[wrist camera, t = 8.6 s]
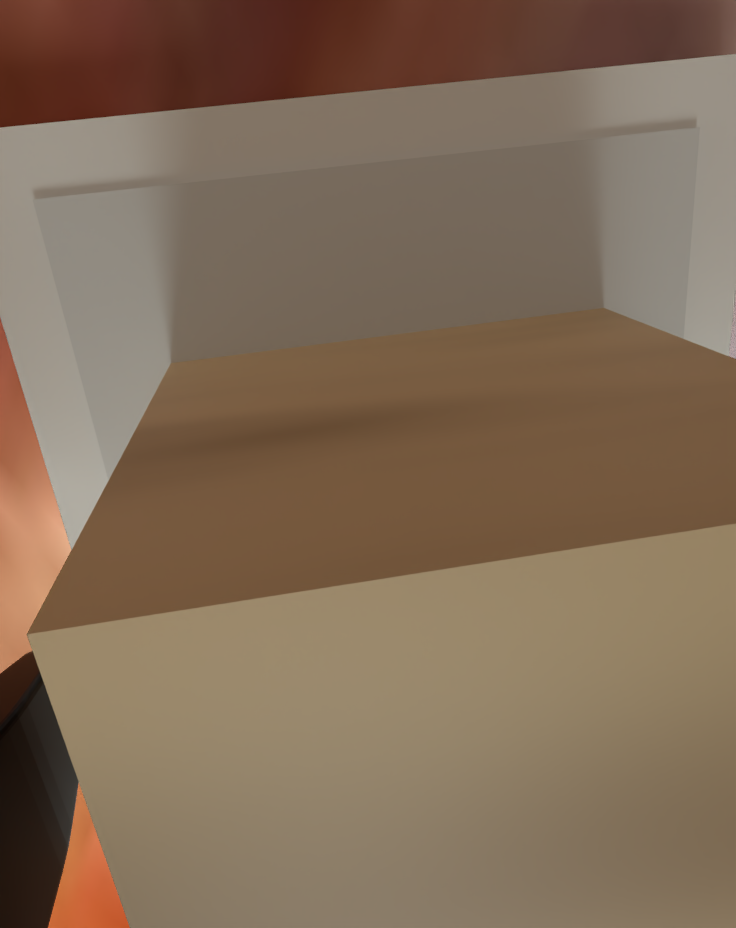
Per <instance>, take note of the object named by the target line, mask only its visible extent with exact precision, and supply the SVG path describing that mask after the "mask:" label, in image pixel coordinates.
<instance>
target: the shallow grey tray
mask: <svg viewBox="0 0 736 928" xmlns="http://www.w3.org/2000/svg"><path fill="white" fill-rule="evenodd" d="M735 293H736V54H730V55H720V56H710V57H700V58H690V59H680V60H670V61H660V62H650V63H640V64H630V65H620V66H610V67H600V68H590V69H580V70H570V71H560V72H551V73H541V74H531V75H521V76H511V77H501V78H491V79H481V80H471V81H461V82H451V83H441V84H431V85H421V86H411V87H401V88H391V89H381V90H371V91H361V92H351V93H341V94H331V95H321V96H311V97H301V98H291V99H281V100H271V101H261V102H251V103H241V104H231V105H221V106H211V107H201V108H191V109H181V110H171V111H161V112H151V113H141V114H131V115H121V116H111V117H101V118H91V119H81V120H71V121H61V122H51V123H41V124H31V125H21V126H11V127H1V128H0V318H1V321H2V324H3V327H4V331H5V334H6V337H7V340H8V344H9V347H10V350H11V354H12V357H13V360H14V363H15V367H16V370H17V373H18V376H19V380H20V383H21V386H22V389H23V393H24V396H25V399H26V403H27V406H28V409H29V412H30V416H31V419H32V422H33V425H34V429H35V432H36V435H37V439H38V442H39V445H40V448H41V452H42V455H43V458H44V461H45V465H46V468H47V471H48V474H49V478H50V481H51V484H52V488H53V491H54V494H55V497H56V501H57V504H58V507H59V510H60V514H61V517H62V520H63V524H64V527H65V530H66V533H67V537H68V540H69V543H70V546H71V550H72V548H73V547H74V545H75V543H76V541H77V539H78V537H79V535H80V533H81V531H82V530H83V528H84V526H85V524H86V522H87V520H88V518H89V516H90V515H91V513H92V511H93V509H94V507H95V505H96V503H97V501H98V499H99V498H100V496H101V494H102V492H103V490H104V488H105V486H106V484H107V482H108V481H109V479H110V477H111V475H112V473H113V471H114V469H115V467H116V466H117V464H118V462H119V460H120V458H121V456H122V454H123V452H124V450H125V449H126V447H127V445H128V443H129V441H130V439H131V437H132V435H133V433H134V432H135V430H136V428H137V426H138V424H139V422H140V420H141V418H142V417H143V415H144V413H145V411H146V409H147V407H148V405H149V403H150V401H151V400H152V398H153V396H154V394H155V392H156V390H157V388H158V386H159V384H160V383H161V381H162V379H163V377H164V375H165V373H166V371H167V369H168V368H169V366H170V364H171V363H176V362H184V361H192V360H200V359H208V358H215V357H223V356H231V355H239V354H247V353H255V352H262V351H270V350H278V349H286V348H294V347H302V346H309V345H317V344H325V343H333V342H341V341H349V340H356V339H364V338H372V337H380V336H388V335H396V334H403V333H411V332H419V331H427V330H435V329H443V328H450V327H458V326H466V325H474V324H482V323H490V322H497V321H505V320H513V319H521V318H529V317H537V316H544V315H552V314H560V313H568V312H576V311H584V310H591V309H599V308H606V309H608V310H611V311H613V312H616V313H619V314H621V315H624V316H626V317H629V318H631V319H634V320H637V321H639V322H642V323H644V324H647V325H649V326H652V327H654V328H657V329H660V330H662V331H665V332H667V333H670V334H672V335H675V336H678V337H680V338H683V339H685V340H688V341H690V342H693V343H696V344H698V345H701V346H703V347H706V348H708V349H711V350H714V351H716V352H719V353H721V354H724V355H726V356H729V351H730V341H731V331H732V322H733V312H734V303H735Z"/></svg>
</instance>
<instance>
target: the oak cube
mask: <svg viewBox="0 0 736 928" xmlns="http://www.w3.org/2000/svg"><path fill="white" fill-rule="evenodd" d="M27 636H28V639H29V642H30V645H31V648H32V651H33V653H34V656H35V659H36V662H37V665H38V668H39V670H40V673H41V676H42V679H43V682H44V685H45V687H46V690H47V693H48V696H49V699H50V702H51V705H52V707H53V710H54V713H55V716H56V719H57V722H58V724H59V727H60V730H61V733H62V736H63V739H64V741H65V744H66V747H67V750H68V753H69V756H70V759H71V761H72V764H73V767H74V770H75V773H76V776H77V778H78V781H79V784H80V787H81V790H82V793H83V795H84V798H85V801H86V804H87V807H88V810H89V813H90V815H91V818H92V821H93V824H94V827H95V830H96V832H97V835H98V838H99V841H100V844H101V847H102V849H103V852H104V855H105V858H106V861H107V864H108V867H109V869H110V872H111V875H112V878H113V881H114V884H115V886H116V889H117V892H118V895H119V898H120V901H121V903H122V906H123V909H124V912H125V915H126V918H127V921H128V923H129V926H130V928H736V359H734V358H731V357H729V356H726V355H724V354H721V353H719V352H716V351H714V350H711V349H708V348H706V347H703V346H701V345H698V344H696V343H693V342H690V341H688V340H685V339H683V338H680V337H678V336H675V335H672V334H670V333H667V332H665V331H662V330H660V329H657V328H654V327H652V326H649V325H647V324H644V323H642V322H639V321H637V320H634V319H631V318H629V317H626V316H624V315H621V314H619V313H616V312H613V311H611V310H608V309H606V308H599V309H591V310H584V311H576V312H568V313H560V314H552V315H544V316H537V317H529V318H521V319H513V320H505V321H497V322H490V323H482V324H474V325H466V326H458V327H450V328H443V329H435V330H427V331H419V332H411V333H403V334H396V335H388V336H380V337H372V338H364V339H356V340H349V341H341V342H333V343H325V344H317V345H309V346H302V347H294V348H286V349H278V350H270V351H262V352H255V353H247V354H239V355H231V356H223V357H215V358H208V359H200V360H192V361H184V362H176V363H171V364H170V366H169V368H168V369H167V371H166V373H165V375H164V377H163V379H162V381H161V383H160V384H159V386H158V388H157V390H156V392H155V394H154V396H153V398H152V400H151V401H150V403H149V405H148V407H147V409H146V411H145V413H144V415H143V417H142V418H141V420H140V422H139V424H138V426H137V428H136V430H135V432H134V433H133V435H132V437H131V439H130V441H129V443H128V445H127V447H126V449H125V450H124V452H123V454H122V456H121V458H120V460H119V462H118V464H117V466H116V467H115V469H114V471H113V473H112V475H111V477H110V479H109V481H108V482H107V484H106V486H105V488H104V490H103V492H102V494H101V496H100V498H99V499H98V501H97V503H96V505H95V507H94V509H93V511H92V513H91V515H90V516H89V518H88V520H87V522H86V524H85V526H84V528H83V530H82V531H81V533H80V535H79V537H78V539H77V541H76V543H75V545H74V547H73V548H72V550H71V552H70V554H69V556H68V558H67V560H66V562H65V564H64V565H63V567H62V569H61V571H60V573H59V575H58V577H57V579H56V580H55V582H54V584H53V586H52V588H51V590H50V592H49V594H48V596H47V597H46V599H45V601H44V603H43V605H42V607H41V609H40V611H39V613H38V614H37V616H36V618H35V620H34V622H33V624H32V626H31V628H30V629H29V631H28V633H27Z"/></svg>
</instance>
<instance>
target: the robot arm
mask: <svg viewBox="0 0 736 928" xmlns="http://www.w3.org/2000/svg"><path fill="white" fill-rule="evenodd" d="M78 783H79V781H78V778H77V776H76V773H75V770H74V767H73V764H72V761H71V759H70V756H69V753H68V750H67V747H66V744H65V741H64V739H63V736H62V733H61V730H60V727H59V724H58V722H57V719H56V716H55V713H54V710H53V707H52V705H51V702H50V699H49V696H48V693H47V690H46V687H45V685H44V682H43V679H42V676H41V673H40V670H39V668H38V665H37V662H36V659H35V656H34V653H33V651H32V652H29V653H27V654H25V655H24V656H22V657H21V658H20V659H19V660H17V661H16V662H15V663H13V664H12V665H11V666H10V667H8V668H7V669H6V670H4V671H3V672H2V673H0V928H48V925H49V921H50V918H51V914H52V910H53V906H54V902H55V899H56V895H57V891H58V887H59V884H60V880H61V876H62V872H63V868H64V864H65V860H66V855H67V851H68V847H69V841H70V835H71V829H72V823H73V816H74V810H75V803H76V796H77V789H78Z"/></svg>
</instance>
